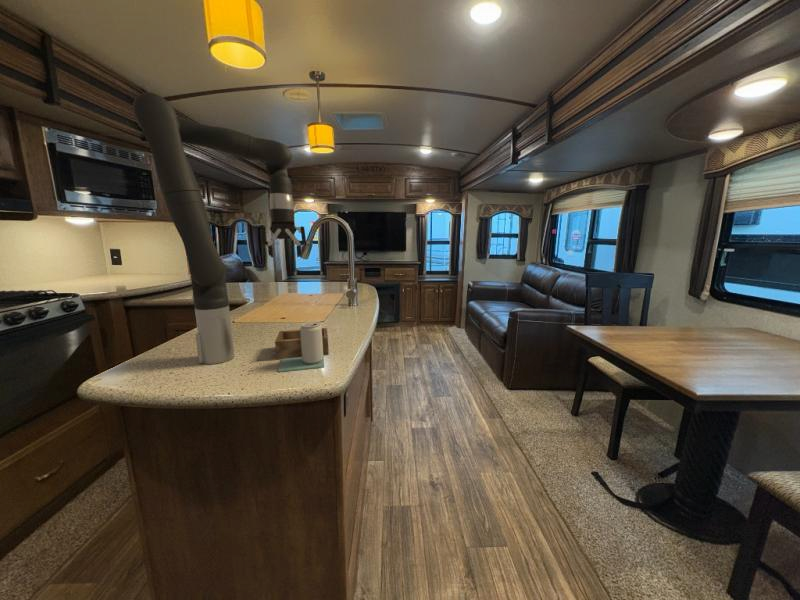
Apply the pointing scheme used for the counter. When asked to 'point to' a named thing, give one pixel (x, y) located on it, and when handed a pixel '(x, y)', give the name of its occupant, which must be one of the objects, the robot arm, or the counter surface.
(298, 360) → the rubber mat
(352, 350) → the counter surface
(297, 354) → the walnut holder
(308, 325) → the beverage can
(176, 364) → the counter surface
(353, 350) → the counter surface
